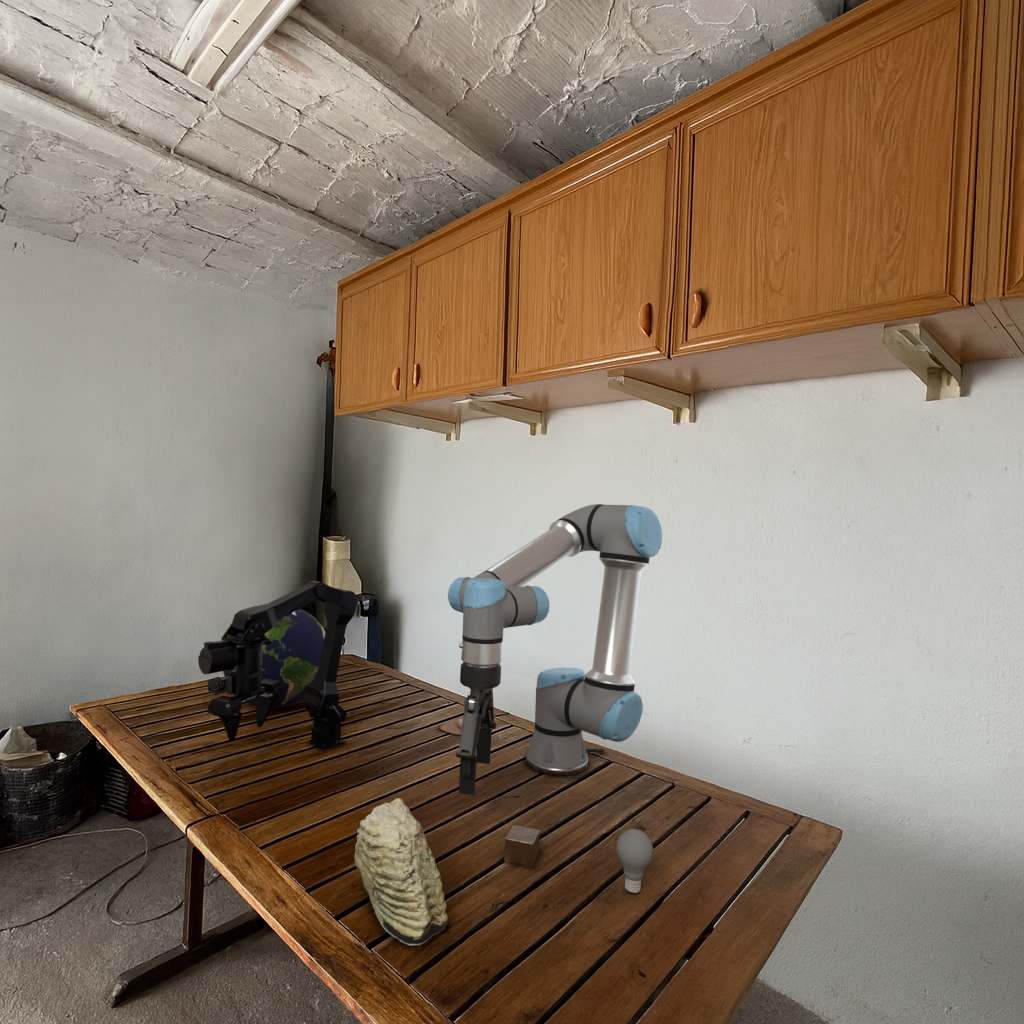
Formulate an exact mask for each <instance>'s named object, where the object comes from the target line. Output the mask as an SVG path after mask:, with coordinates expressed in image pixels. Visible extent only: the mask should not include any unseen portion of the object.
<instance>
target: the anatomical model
mask: <svg viewBox="0 0 1024 1024" xmlns="http://www.w3.org/2000/svg"><path fill="white" fill-rule="evenodd" d="M462 723H463V716H462V717H459V718H456V719H452V720H448V721H447V722H445V723H443V724H442V725H440V727H439V729H440V730H441V731H443V732H446V733H449V734H453V735H457V736H461V730H462ZM480 728H482V727H480Z"/></svg>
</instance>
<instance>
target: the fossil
mask: <svg viewBox="0 0 1024 1024" xmlns="http://www.w3.org/2000/svg"><path fill="white" fill-rule="evenodd" d="M356 831H357V832H356V833H357V835H356V840H357V841H356V843H355V846H354V847H355V848H354V850H355V851H354V864H355V867H356V868H357V870H358V871H359V874H360V877H361V880H362V884H363V888H364V890H365V892H366V893H367V895H368V897H369V901H370V903H371V905H372V908H373V910H374V913H375V916H376V918H377V920H378V922H379V923H380V925H381V926H382V928H383V929H384V931H385V932H387V933H388V934H389V935H390V936H392V937H393V938H395V939H397V940H398V941H399V942H400V943H403V944H405V945H407V946H409V947H410V946H421V945H423V944H425V943H427V942H428V940H430V939H431V938H432V937H433V936H435V935H438V934H439V933H441V932H443V931H444V929H445V928H446V926H447V925H448V924H449V917H448V914H447V903H446V901H445V892H444V890H443V887H444V886H443V881H442V880H441V879H442V878H441V876H442V875H441V873H440V870H439V869H438V867H437V863H436V858H435V857H434V854H433V851H432V849H431V848H430V845H429V843H428V841H427V838H426V836H425V835H426V834H425V832H424V828H423V827H422V825H421V822H420V821H418V820H417V819H416V818H415V816H413V814H412V812H411V810H410V809H409V807H408V806H407V805H406V804H405V802H404V800H403V799H402V798H401V797H397V798H395V799H393V800H392V801H390V802H384V803H383V804H380V805H377V806H376V807H374V808H372V811H371V813H369V814H368V815H367V816H365V818H364V819H363V820H360V822H359V828H357V830H356Z"/></svg>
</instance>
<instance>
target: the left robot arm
mask: <svg viewBox="0 0 1024 1024" xmlns="http://www.w3.org/2000/svg"><path fill="white" fill-rule="evenodd" d="M315 601H319V602H320V603H321V602H322V603H323V613H324V616H325V620H326V627H325V630H324V631H325V637H324V642H323V647H322V652H321V657H320V662H319V667H318V673H317V677H316V680H315V681H314V682H313V684H312V685H311V686H310V685H307V686H306V688H305V696H304V698H303V700H302V702H304V703H303V707H304V709H305V711H307V713H308V715H309V718H311V719H313V721H312V722H313V723H312V727H311V730H310V731H311V732H310V733H311V735H310V739H309V740H308V743H309V744H310V745H313V746H314V747H316V748H318V749H320V750H327V749H329V748H333V747H336V746H340V745H343V744H344V743H345V741H344V740H343V739H341V737H342V735H341V733H342V723H343V722H346V719H347V715H348V712H347V711H346V710H345V709H344V708H343V707H342V706H341V705H340V691H339V688H338V684H337V678H338V672H339V668H340V667H339V666H340V662H341V656H342V651H343V647H344V641H345V636H346V630H347V626H348V624H349V623H350V622H351V620H352V619H353V618H354V616H355V615H356V612H357V608H358V605H359V597H358V596H357V594H356V593H355V592H354V591H352V590H347V589H342V588H337V587H333V586H331V585H328V584H326V583H325V582H323V581H318V580H310V581H308V582H307V583H306V584H304V585H302V586H300V587H298V588H296V589H294V590H292V591H289V592H288V593H286V594H284V595H281V596H280V597H278V598H276V599H274V600H272V601H270V602H268V603H264V604H260V605H254V606H250V607H247V608H244V609H241V610H238V611H237V612H236V613H235V614H234V615H233V618H232V622H231V623H230V625H229V626H228V628H227V629H226V630H225V632H224V633H223V635H222V636H221V638H220V640H216V641H211V640H209V641H204V643H203V647H202V648H201V649H200V652H199V655H198V657H197V662H198V667H199V671H200V672H201V673H202V674H203V675H210V674H216V673H220V672H223V671H226V670H231V669H233V668H234V667H235V670H233V671H231V672H230V674H229V677H226V678H225V677H222V678H221V677H220V676H216V677H212V678H209V679H208V681H207V691H208V693H210V694H213V695H214V696H215V698H212V699H210V700H209V702H208V703H207V714H211V715H213V716H215V717H218V718H219V719H220V720H221V723H222V725H223V727H224V730H225V733H226V735H227V738H228V740H229V741H230V742H234V741H235V740H236V737H237V734H238V731H239V727H240V723H241V720H242V715H243V712H242V711H241V710H242V708H243V703H247V702H246V701H248V700H250V699H254V701H255V702H256V706H255V709H256V710H255V711H256V715H255V716H256V718H255V719H256V727H257V728H262V727H263V726H264V725H265V723H266V720H267V718H268V716H269V714H270V712H271V710H272V707H273V705H274V704H275V702H276V700H277V699H278V698H279V697H280V695H279V694H282V693H283V684H282V683H281V681H277V680H270V679H263V680H261V678H262V675H263V674H266V669H262V650H263V645H268V644H271V643H272V641H271V640H269V639H268V638H267V637H266V636H265V633H267V632H268V631H269V630H270V629H272V628H273V626H274V625H275V624H276V622H277V621H279V620H280V619H281V618H283V617H285V616H287V615H289V614H291V613H293V612H294V611H296V610H298V609H302V608H304V607H306V606H308V605H310V604H312V603H314V602H315ZM237 634H241V635H243V636H242V637H240V636H237ZM223 693H226V694H227V695H220V694H223ZM229 695H230V696H229ZM232 695H234V696H232ZM216 696H217V697H216Z"/></svg>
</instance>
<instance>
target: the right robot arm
mask: <svg viewBox="0 0 1024 1024" xmlns="http://www.w3.org/2000/svg"><path fill="white" fill-rule="evenodd" d="M662 544H663V530H662V525H661V521H660V520H659V518H658V515H657V514H656V512H654V510H652V509H651V508H650V507H647V506H642V505H641V506H640V505H636V504H634V505H633V504H628V505H627V504H604V503H595V504H589V505H585V506H582V507H580V508H578V509H575V510H573V511H571V512H569V513H567V514H565V515H563V516H561V517H560V518H558V519H557V520H555V521H553V522H552V523H551V524H550V525H549V528H548V530H547V531H546V532H544V533H542V534H541V535H539V536H538V537H536V538H534V539H533V540H531V541H530V542H528V543H527V544H525V545H523V546H522V547H520V548H519V549H517V550H515V551H513V552H512V553H511V554H509V555H508V556H506V557H505V558H502V559H501V560H500V561H497V563H494V564H493V565H492V566H490V567H489V568H487V569H485V570H483V571H482V572H481V573H479V574H477V575H476V576H474V577H470V576H466V577H463V576H461V577H457V578H455V579H454V580H453V581H452V583H451V584H450V586H449V588H448V591H447V600H448V603H449V606H450V607H451V608H452V609H453V610H454V611H456V612H459V613H461V614H462V637H461V639H462V641H461V642H460V643H459V644H458V648H459V649H461V654H460V655H461V658H460V659H461V662H462V663H461V664H460V673H459V675H460V676H459V682H460V684H461V685H462V686H463V687H467V688H468V689H469V690H470V691H469V694H468V695H467V696H466V697H465V699H464V708H463V716H462V717H463V723H462V730H461V735H460V738H459V743H458V749H457V751H455V757H456V758H459V759H460V763H459V781H458V783H459V784H458V794H462V795H469V796H475V794H476V781H477V780H476V779H477V764H485V765H490V764H491V755H492V753H491V752H492V734H493V729H494V730H496V728H497V723H496V722H495V720H496V719H495V708H494V707H495V705H494V688H495V689H496V688H497V687H498V686H500V685H501V682H502V681H501V680H502V665H501V663H502V662H503V645H504V629H509V628H516V627H522V626H532V625H534V624H539V623H542V622H543V621H544V620H545V619H546V618H547V617H548V615H549V612H550V598H549V596H548V594H547V592H546V591H545V590H544V589H543V588H542V587H540V586H538V585H537V586H536V585H527V584H529V583H530V582H532V581H533V580H535V579H536V578H537V577H539V576H541V575H542V574H543V573H545V572H546V571H547V570H549V569H550V568H552V567H554V566H555V565H557V563H559V562H561V561H562V560H563V559H565V558H573V557H575V556H577V555H578V554H580V553H583V552H599V555H598V556H599V557H598V558H599V559H598V560H599V561H600V562H601V563H602V565H603V567H604V568H603V577H602V587H601V593H600V594H601V595H600V603H599V610H598V618H597V619H598V620H597V627H596V636H595V643H594V651H593V652H594V653H593V661H592V667H591V669H590V670H589V671H587V672H586V673H585V671H584V670H583V669H582V668H578V667H553V668H547V669H544V670H541V671H540V672H539V673H538V674H537V679H536V687H535V706H534V707H535V711H534V713H535V714H534V731H533V734H532V736H531V739H530V741H529V744H528V746H527V745H526V753H525V763H526V764H527V766H528V767H529V768H530V769H533V770H534V771H537V772H539V773H543V774H546V775H551V776H573V775H577V774H580V773H582V772H584V771H585V770H586V769H587V768H588V765H589V756H588V753H599V754H600V753H605V749H604V748H587V747H586V744H585V741H584V737H583V732H584V733H586V734H590V735H593V736H595V737H599V738H600V739H602V740H604V741H605V740H608V741H612V742H616V743H623V742H624V741H626V740H628V739H629V738H630V737H632V735H633V734H634V732H636V730H637V728H638V726H639V724H640V722H641V719H642V715H643V710H644V709H643V708H644V705H643V698H642V696H641V695H640V694H638V693H637V692H635V687H636V682H635V680H634V679H633V678H632V676H631V674H630V673H631V662H632V656H633V655H632V653H633V647H634V645H633V644H634V637H635V628H636V619H637V612H638V603H639V594H640V587H641V577H642V572H643V571H644V570H645V569H646V568H648V567H649V564H650V559H651V558H654V557H655V556H657V555H658V553H659V552H660V550H661V548H662ZM480 727H482V728H480Z"/></svg>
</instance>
